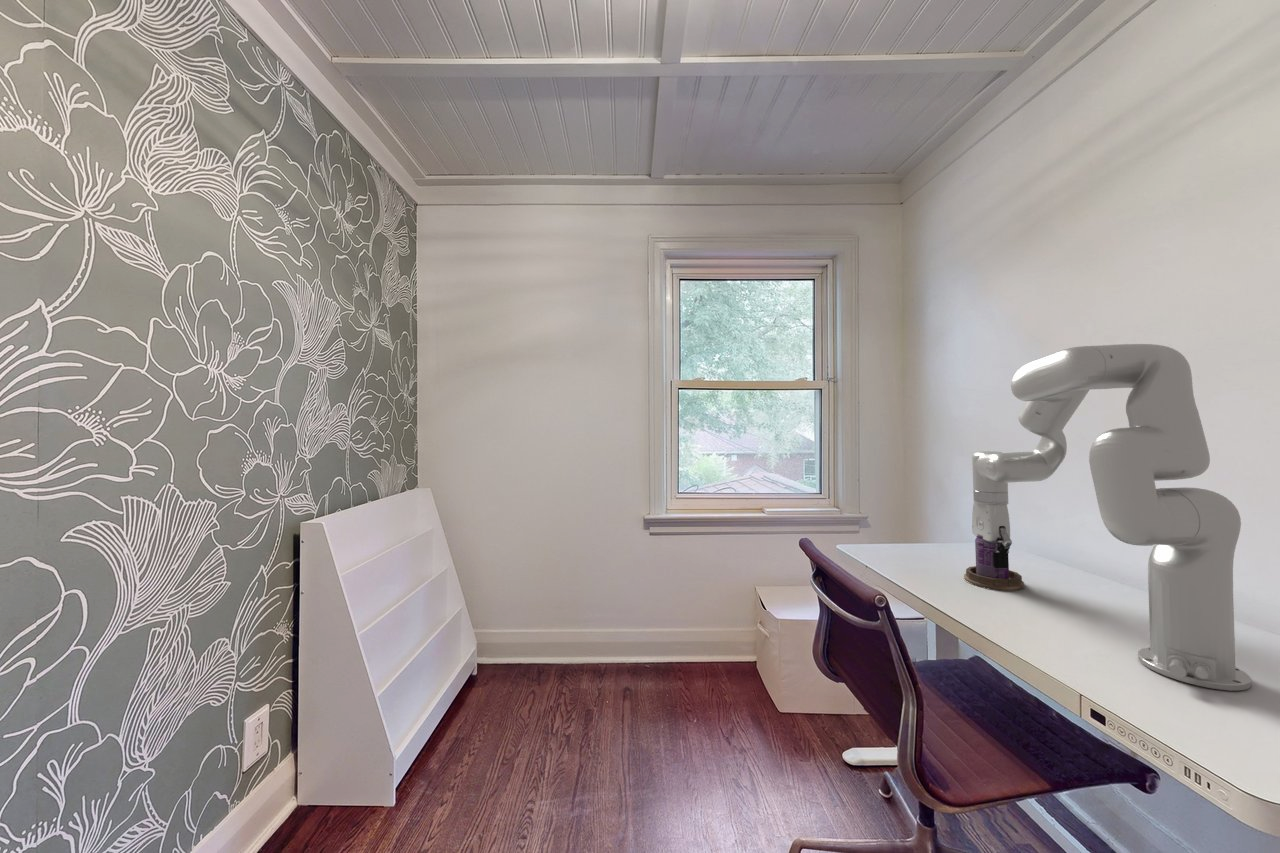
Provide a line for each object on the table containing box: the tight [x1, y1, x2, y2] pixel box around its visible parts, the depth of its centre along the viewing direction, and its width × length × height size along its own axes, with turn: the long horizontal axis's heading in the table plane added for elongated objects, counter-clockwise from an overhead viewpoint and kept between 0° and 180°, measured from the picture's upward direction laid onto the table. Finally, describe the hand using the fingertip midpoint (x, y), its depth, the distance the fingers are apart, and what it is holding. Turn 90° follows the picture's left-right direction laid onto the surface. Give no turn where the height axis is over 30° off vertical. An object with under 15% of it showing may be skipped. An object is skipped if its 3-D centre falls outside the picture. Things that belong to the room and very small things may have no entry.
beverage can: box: [974, 534, 1010, 579], centre depth 126 cm, size 7×7×12 cm
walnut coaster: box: [963, 565, 1025, 592], centre depth 126 cm, size 13×13×3 cm
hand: (992, 562), depth 126 cm, fingers closed on beverage can, 6 cm apart
